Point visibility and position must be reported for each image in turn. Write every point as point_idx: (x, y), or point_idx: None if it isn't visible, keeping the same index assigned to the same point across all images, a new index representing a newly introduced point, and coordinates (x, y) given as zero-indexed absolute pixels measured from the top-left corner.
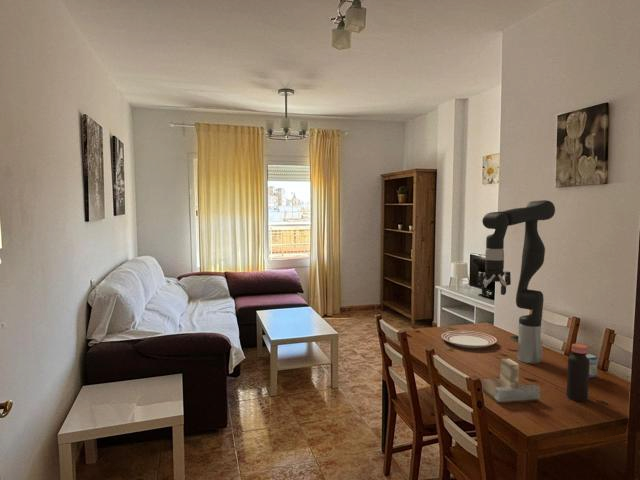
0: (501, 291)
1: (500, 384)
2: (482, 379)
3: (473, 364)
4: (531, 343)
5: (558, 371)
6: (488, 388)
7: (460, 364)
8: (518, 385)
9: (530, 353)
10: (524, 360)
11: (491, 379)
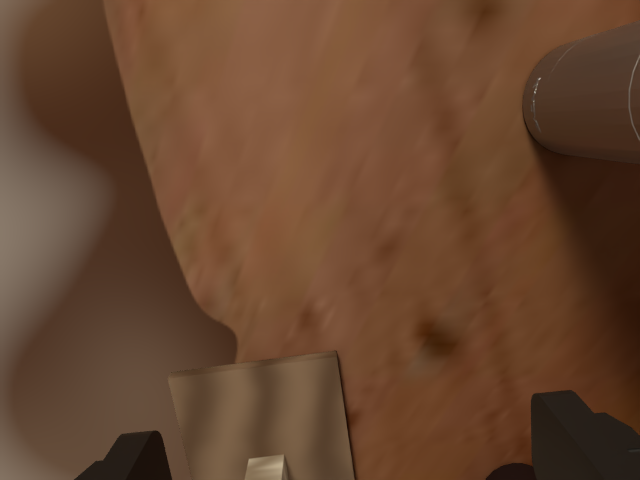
0: (561, 447)
1: (246, 477)
2: (214, 372)
3: (248, 161)
4: (623, 161)
5: (627, 251)
6: (208, 450)
7: (180, 161)
8: (340, 426)
9: (582, 156)
10: (537, 136)
11: (253, 372)
